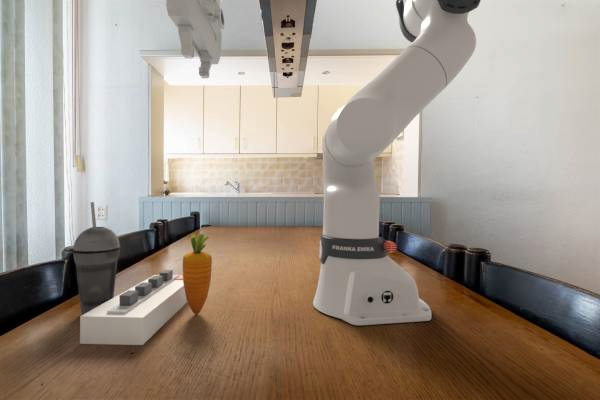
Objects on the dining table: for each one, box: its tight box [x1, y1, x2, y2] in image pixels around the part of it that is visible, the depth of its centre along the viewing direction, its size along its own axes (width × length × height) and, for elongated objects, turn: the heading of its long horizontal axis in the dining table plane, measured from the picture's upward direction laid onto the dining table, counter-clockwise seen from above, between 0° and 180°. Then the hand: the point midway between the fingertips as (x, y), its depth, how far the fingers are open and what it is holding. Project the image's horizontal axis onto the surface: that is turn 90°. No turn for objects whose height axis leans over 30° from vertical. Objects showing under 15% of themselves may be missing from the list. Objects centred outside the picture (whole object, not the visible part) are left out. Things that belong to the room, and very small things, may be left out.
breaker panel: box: [79, 269, 188, 346], centre depth 54 cm, size 9×22×6 cm, turn 0°
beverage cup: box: [71, 201, 122, 316], centre depth 54 cm, size 7×7×20 cm
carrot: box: [182, 232, 213, 316], centre depth 54 cm, size 5×5×15 cm
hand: (196, 67), depth 59 cm, fingers open, 8 cm apart
